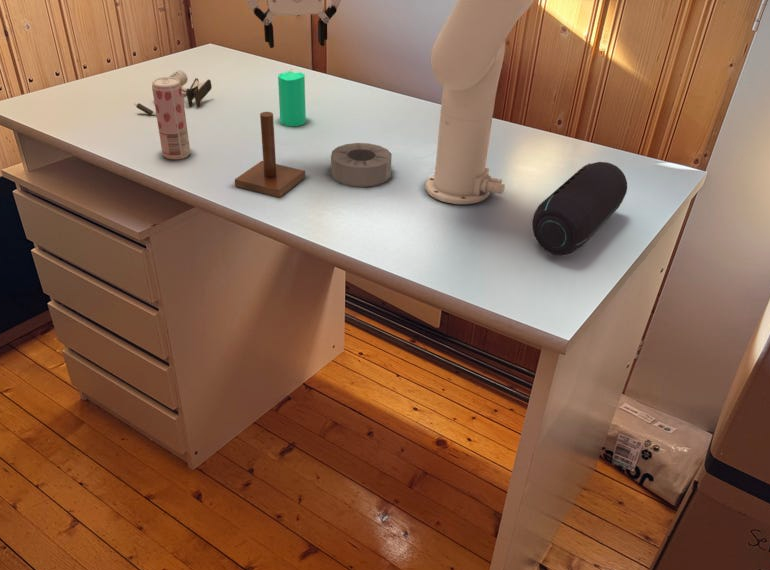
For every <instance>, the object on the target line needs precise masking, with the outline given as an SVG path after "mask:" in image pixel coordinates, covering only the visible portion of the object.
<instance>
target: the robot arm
mask: <svg viewBox="0 0 770 570" xmlns="http://www.w3.org/2000/svg"><path fill="white" fill-rule="evenodd" d="M259 1H260V0H247V3H248V5H249V6H250V8H251V10H252V12H253V14H254V15H255V16H256V18H257V19H259V20H260V22H261V23H262V24H263V32H264V33H263V34H264V41H265V43H268V46H269V48H270V49H273V48H275V39H274V38H275V36H274V25H273V23H272V21H273V20H274V18H275V17H276V16H302V15H303V16H305V15H317V16H318V20H317V42H318V44H319V45H320V46H321V47H325V41H327V40H328V23H329V22H330V20H331V19H332V18H333V17H334V15H336V13H337V11H338V8H339V6H340V4H341V2H342V0H331V2H330V5H329V6H328V7H327V8H326V9H325V10H324V8H325V0H266V4H267V8H266V10H265V12H264V11H263V10H262V9H261V8H260V7H259V6H258V2H259ZM534 1H535V0H457V1H456V2H455V5H454V6H453V8H452V10H451V12H450V14H449V16H448V17H447V18H446V21H445V23H444V25H443V26H442V28H441V30H440V32H439V33H438V35H437V38H436V40H435V41H434V44H433V47H432V49H431V53H430V66H431V71H432V73H433V76H434V78H435V79H436V81H437V82H438V83H439V84H440V86H442V88H443V89H442V94H441V95H442V96H441V106H440V115H439V125H438V136H437V146H436V157H435V167H434V174H432V175H431V176H430V177H428V178H427V180H426V181H425V191H426V193H427V194H428V195H429V196H430V197H432V198H433V199H435V200H437V201H439V202H443V203H447V204H453V205H472V204H477V203H481V202H483V201H485V200H486V199H487V198H488V197H489V196H490V194H491V192H492V193H493V194H497V195H503V194H504V192H505V187H506V184H505V183H503V179H502V178H497V177H492V176H491V175H489V174H490V168H488V167H486V165H487V161H488V160H487V159H488V152H489V145H490V139H491V138H490V137H491V130H492V123H493V116H494V110H495V102H496V98H497V92H498V91H497V90H498V86H499V81H500V76H501V71H502V68H503V63H504V58H505V52H506V39H507V38H508V36H509V35H510V33H511V31H512V29H513V28H514V26H515V25H516V23H517V22H518V21H519V19H520V18H521V17H522V16H524V15H525V13H526V12H528V10H529V9H530V8H531V6H532V4H533V3H534Z"/></svg>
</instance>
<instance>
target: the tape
mask: <svg viewBox="0 0 770 570" xmlns="http://www.w3.org/2000/svg"><path fill="white" fill-rule="evenodd" d="M392 157H393V156H392V153H391V152H390V150H388V148H385V147H383V146H381V145H378V144H374V143H369V142H353V143H346V144H343V145H340V146H339V145H338V146H337V147H335V148H334V149H333V150H332V151H331V154H330V176H331V177H332V178H333V180H334V181H336V182H338V183H340V184H342V185H346V186H351V187H360V188H361V187H362V188H367V187H375V186H379V185H381V184H384V183H386V182H388V180H390V178H391V175H392Z"/></svg>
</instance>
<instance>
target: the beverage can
mask: <svg viewBox="0 0 770 570" xmlns="http://www.w3.org/2000/svg"><path fill="white" fill-rule="evenodd" d="M151 85H152V86H151V91H152V90H153V91H152V98H153V103H154V109H155V114H156V115H155V116H156V120H157V122H156V123H157V127H158V134H159V140H160V146H161V153H162V156H164V158H166V159H169V160H182V159H185V158H187V157H189V155H190V154H191V147H190V146H191V145H190V139H189V131H188V126H187V125H188V123H187V116H186V110H185V103H184V96H183V95H182V94H183V91H182V88H181V84H180V81H179V79H177V78H173V77H169V76H162V77H157V78H155V79H153V80H152V82H151Z"/></svg>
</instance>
